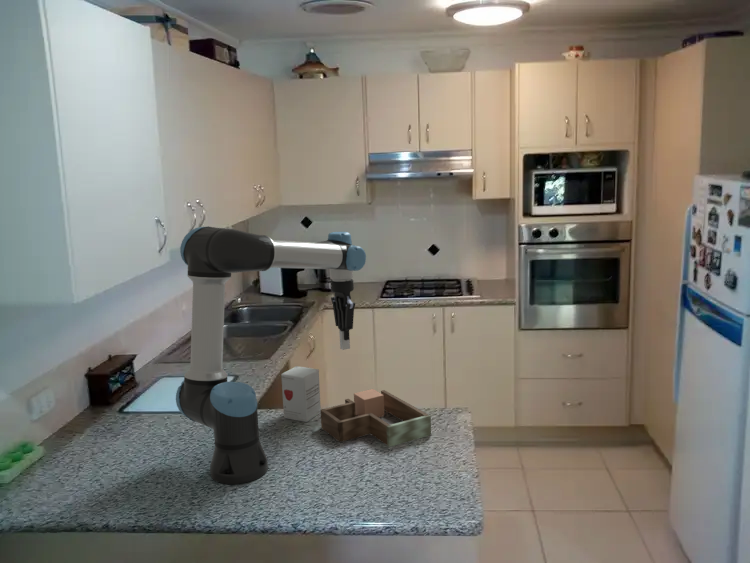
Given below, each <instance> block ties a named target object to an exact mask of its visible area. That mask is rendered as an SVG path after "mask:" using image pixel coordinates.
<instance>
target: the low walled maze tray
mask: <svg viewBox="0 0 750 563" xmlns="http://www.w3.org/2000/svg"><path fill="white" fill-rule="evenodd" d="M380 393H381V394H382V395H384V412H385V411H386V412H387V413H389V414H391V415H392V416H393V417H394V418H395V417H396V418H397V419H399V420H401V421H400V422H399V421H398V422H396V423H392V424H389V423H388V422H386V421H385V420H383V419H381V417H377V416H375V415H374V414H372V413H370V414H371V415H370V434H369V435H371V436H373V437H374V438H376V439H377V440H378V441H380V442H381V443H383V444H385V446H387V447H389V448H392V447H395V446H397V445H402V444H405V443H409V442H411V441H415V440H419V439H422V438H426V437H429V436H432V422H431V421H432V420H431V418H432V417H431V416H432V415H430V414H428V413H426V412H425V411H423V410H421V409H419V408H417V407H415V406H413V405H412V404H410V403H408V402H407V401H405V400H403V399H401V398H399V397H397V395H394V394H392V393H391V392H388V391H387V390H385V389H383V390H380ZM344 401H345V402H344V404H346V403H350V402H352V405H353V404H354V405H353V406H352V409H353V411H352V412H354V413H352V414H353V415H354V416H353V415H352V416H353V417H357V415H356V411H355V402H354V400H351V399H350V398H345V399H344ZM353 407H354V408H353Z"/></svg>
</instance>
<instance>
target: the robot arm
mask: <svg viewBox="0 0 750 563" xmlns="http://www.w3.org/2000/svg"><path fill="white" fill-rule="evenodd" d="M352 242H353V241H352V235H351V233H350V232H348V231H333V232H330V233H328V235H327V240H323V241H316V242H312V241H311V242H308V241H297V240H296V241H294V240H281V239H280V240H279V239H272V238H271V237H270V236H268V235H264V234H255V233H250V232H247V231H242V230H239V229H234V228H225V227H224V228H223V227H216V226H199V227H195V228H193V229H191V230H190V231H189V232H188V233H186V235H185V236H184V237H183V239H182V240H181V243H180V246H179V247H180V248H179V249H180V256H181V259H182V261H183V262H184V264H185V265H186V266H187V277H188V278H189V280H190V281H192V301H191V302H192V304H191V305H192V308H191V332H190V333H191V334H190V335H191V338H190V366H189V369H188V370H187V371H186V372H185V373H184V375H183V376H184V377H183V378H184V379H183V381H182V382H181V383H180V385H179V386H178V388H177V389H176V392H175V403H176V407H177V408H178V411H179V412H180V414H182V416H184V417H185V418H187V419H189V420H190V421H192V422H193V423H194V422H195V423H198V424H200V425H203V426H205V427H208V428H210V429H213V437H214V438H213V439H214V450H213V454H212V457H211V463H210V466H209V469H210V471H209V472H210V477H211V479H213V481H216V482H217V483H220V484H225V485H237V484H238V485H239V484H245V483H250V482H253V481H255V480H257V479H260V478H261V477H263V476H264V475H265V474H266V473H267V472H268V470H269V463H268V462H269V461H268V457H267V455H266V453H265V451H264V448H263V446H262V444H261V441H260V433H259V432H260V429H259V416H258V400H257V394H256V391H255V389H254V388H253V387H252V386H251V385H250V384H247V383H245V382H241V381H237V382H235V381H228V376H229V375H228V373H227V372H226V371H225V370H224V368H223V359H224V358H223V356H224V355H223V354H224V353H223V352H224V334H225V333H224V327H225V302H226V301H225V300H226V299H225V298H226V283H227V282H228V281H230V279H231V278H232V274H234V273H246V272H247V273H248V272H267V271H269V269H271V268H275V269H276V268H277V269H278V268H279V269H280V268H281V269H307V270H308V269H313V270H329V278H330V291H331V292H332V293H334V296H332V297H330V301H331V303H332V308H333V316H334V323H335V326H336V327H337V328H338V330H339V332H338V333H339V348H340V350H342V351H344V350H345V351H346V350H349V349H351V342H350V331H351V330H353V328H354V317H355V316H354V315H355V314H354V313H355V307H356V302H355V301H352V297H351V292H353V291H354V288H355V287H354V284H355V283H354V279H353V278H354V274H353V273H354V272H353V271H356V272H357V271H360V270H362V269H363V268H364V267H365V264H366V262H367V261H366V260H367V255H366V252H365V249H363V247H362V246H360V245H355V244H353V243H352Z"/></svg>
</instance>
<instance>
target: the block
mask: <svg viewBox="0 0 750 563" xmlns="http://www.w3.org/2000/svg"><path fill="white" fill-rule="evenodd" d="M353 402H355V411H356V417H357V416H361V415H365V414H369V413H372V414H374V415H375V416H377V417H378V418H383V417H384V416H385V410H384V395H382V394H381V392H379V391H377V390H375V389H374V388H372V389H371V388H370V389H367V390H362V391H358V392H354V393H353Z"/></svg>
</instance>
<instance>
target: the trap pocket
mask: <svg viewBox="0 0 750 563" xmlns="http://www.w3.org/2000/svg"><path fill="white" fill-rule="evenodd" d="M353 405H354V404H353ZM353 405H352V402H350V403H346V404H345V403H343V404H337V405H335V406H331V407H326V408H321V410H320V411H321V413H320V423H321V424H320V426H321V427H320V428H321V429H322V430H323V431H324V432H326V433H327V434H328V433H329V434H328V435H330V436H331V437H333V439H334V440H336V441H338V442H339V443H342V442H346V441H349V440H353V439H358V438H360V437H364V436H368V435H371V434H370V415H371V414H370V413H369V414H365V415H361V416H357V415H356V417H353V416H354V415H353V414H352V413H354V412H352V411H353V409H352V406H353ZM353 408H354V407H353ZM352 415H353V416H352Z"/></svg>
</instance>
